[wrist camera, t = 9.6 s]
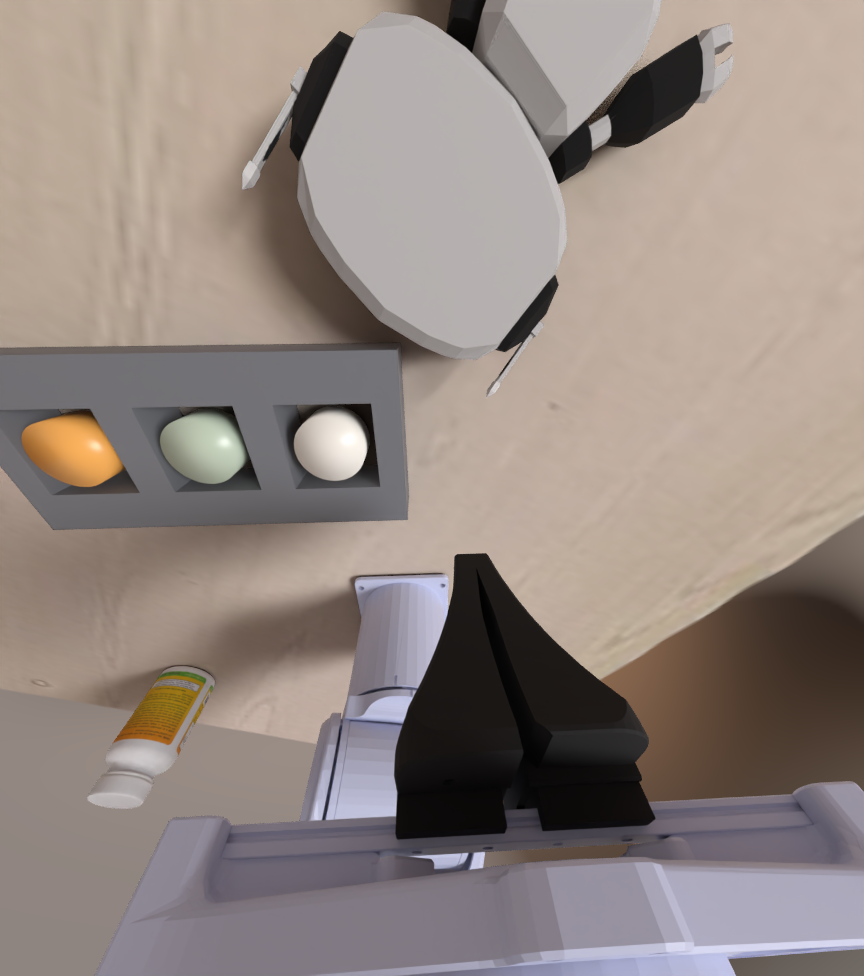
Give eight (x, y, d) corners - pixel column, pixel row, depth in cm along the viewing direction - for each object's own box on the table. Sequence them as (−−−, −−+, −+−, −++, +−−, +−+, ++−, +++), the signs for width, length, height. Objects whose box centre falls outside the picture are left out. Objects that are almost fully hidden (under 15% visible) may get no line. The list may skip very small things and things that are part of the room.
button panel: (408, 494, 22) (407, 519, 20) (96, 502, 22) (53, 529, 19) (400, 342, 17) (397, 349, 14) (-11, 348, 16) (-91, 356, 14)
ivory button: (373, 464, 19) (368, 480, 18) (312, 465, 19) (302, 481, 18) (366, 405, 17) (360, 416, 16) (299, 406, 17) (285, 417, 16)
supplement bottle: (151, 667, 32) (58, 794, 24) (200, 661, 32) (124, 787, 24) (180, 692, 35) (105, 814, 27) (225, 687, 35) (164, 808, 26)
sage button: (261, 467, 19) (246, 483, 18) (200, 468, 19) (179, 484, 17) (241, 407, 17) (222, 418, 16) (173, 408, 17) (146, 420, 15)
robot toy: (490, -257, 9) (272, 228, 14) (555, -692, 5) (221, 190, 10) (687, 117, 14) (468, 393, 18) (806, 29, 10) (486, 411, 14)
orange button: (148, 469, 19) (121, 486, 17) (85, 471, 19) (52, 488, 17) (114, 409, 17) (80, 421, 15) (44, 411, 17) (3, 422, 15)
